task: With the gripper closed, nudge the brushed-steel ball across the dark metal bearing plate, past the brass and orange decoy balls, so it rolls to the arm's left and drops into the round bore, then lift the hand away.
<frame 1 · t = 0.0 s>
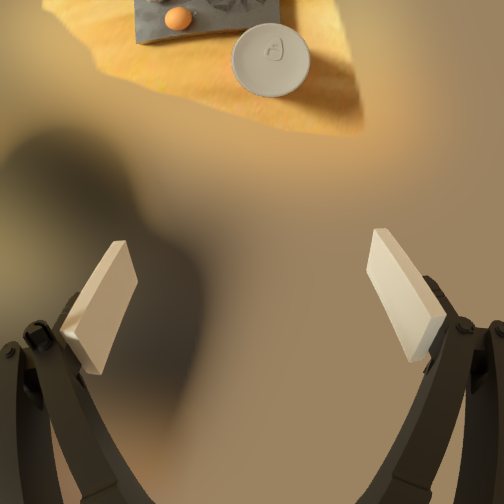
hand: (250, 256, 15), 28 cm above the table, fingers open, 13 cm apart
canned food: (264, 65, 33), on the table
orange ball: (178, 18, 26), point 4 cm above the table, touching bearing plate
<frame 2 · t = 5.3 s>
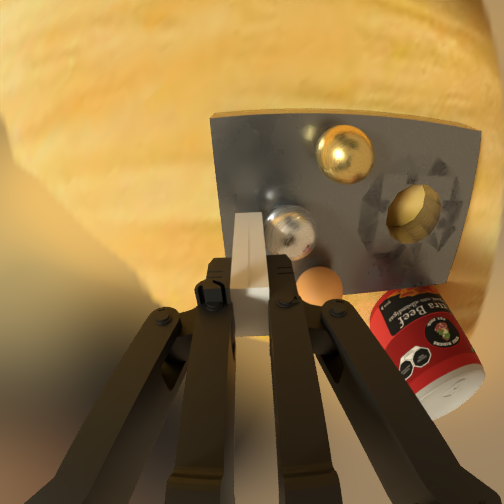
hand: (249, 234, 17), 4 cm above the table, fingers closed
canned food: (401, 307, 27), on the table
orange ball: (319, 290, 19), point 4 cm above the table, touching bearing plate
bearing plate: (351, 200, 20), on the table
brass ball: (345, 154, 15), point 4 cm above the table, touching bearing plate
steel ball: (290, 232, 17), point 4 cm above the table, tilted 19°, touching bearing plate, gripper
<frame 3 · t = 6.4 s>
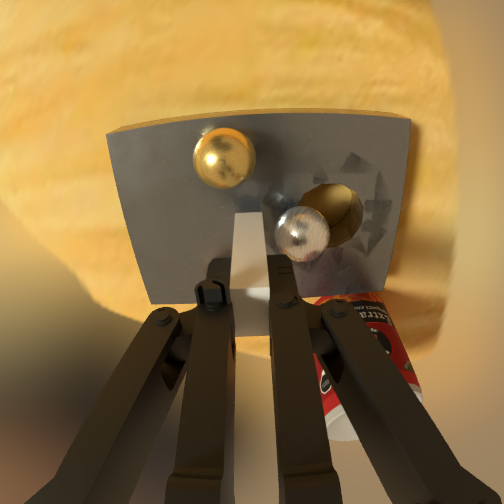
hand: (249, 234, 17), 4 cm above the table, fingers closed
canned food: (342, 314, 27), on the table
bearing plate: (263, 203, 21), on the table
brass ball: (224, 158, 15), point 4 cm above the table, touching bearing plate
steel ball: (301, 233, 17), point 4 cm above the table, tilted 122°, touching bearing plate
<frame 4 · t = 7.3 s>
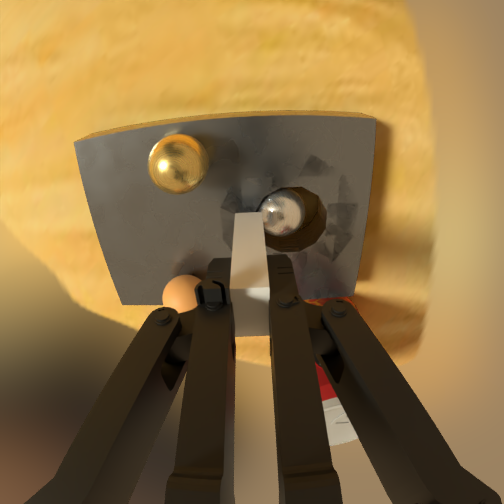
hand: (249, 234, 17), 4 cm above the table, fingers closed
canned food: (316, 318, 27), on the table
orange ball: (186, 298, 20), point 4 cm above the table, touching bearing plate
bearing plate: (228, 207, 21), on the table
brass ball: (178, 164, 15), point 4 cm above the table, touching bearing plate
steel ball: (280, 211, 19), point 2 cm above the table, tilted 47°
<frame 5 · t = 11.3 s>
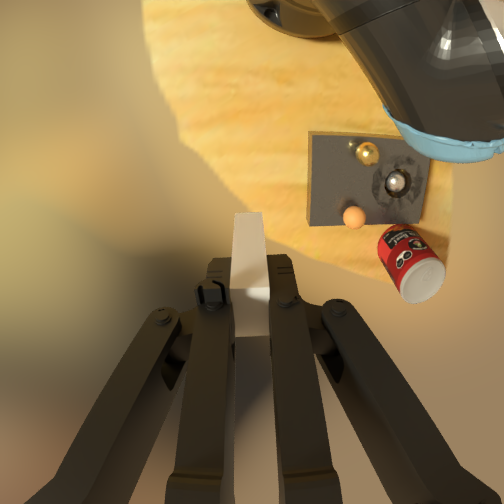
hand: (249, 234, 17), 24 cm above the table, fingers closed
canned food: (395, 242, 47), on the table
orange ball: (354, 217, 39), point 4 cm above the table, touching bearing plate
bearing plate: (367, 177, 40), on the table
brass ball: (367, 154, 35), point 4 cm above the table, touching bearing plate
steel ball: (394, 181, 39), point 2 cm above the table, tilted 31°
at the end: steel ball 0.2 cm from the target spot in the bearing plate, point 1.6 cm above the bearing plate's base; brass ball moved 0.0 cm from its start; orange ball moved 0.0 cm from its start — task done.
